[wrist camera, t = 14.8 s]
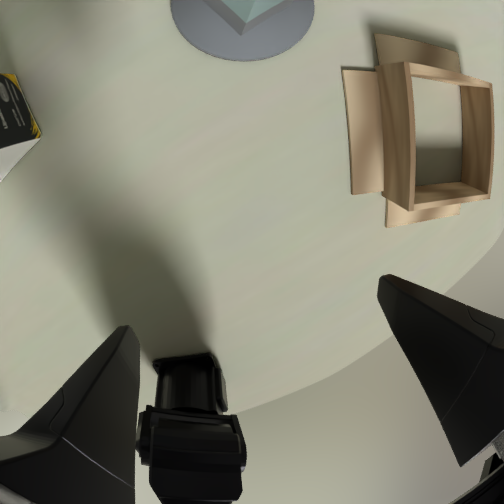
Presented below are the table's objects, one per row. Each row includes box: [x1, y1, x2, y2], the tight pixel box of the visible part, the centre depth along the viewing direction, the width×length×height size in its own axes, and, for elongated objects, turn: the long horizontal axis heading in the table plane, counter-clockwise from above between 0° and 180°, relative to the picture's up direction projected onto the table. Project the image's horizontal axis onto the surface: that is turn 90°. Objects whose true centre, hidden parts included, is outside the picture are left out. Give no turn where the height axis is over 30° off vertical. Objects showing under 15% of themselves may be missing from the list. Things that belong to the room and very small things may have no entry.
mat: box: [171, 0, 314, 61], centre depth 14 cm, size 10×10×1 cm
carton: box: [342, 33, 494, 228], centre depth 18 cm, size 17×17×4 cm
